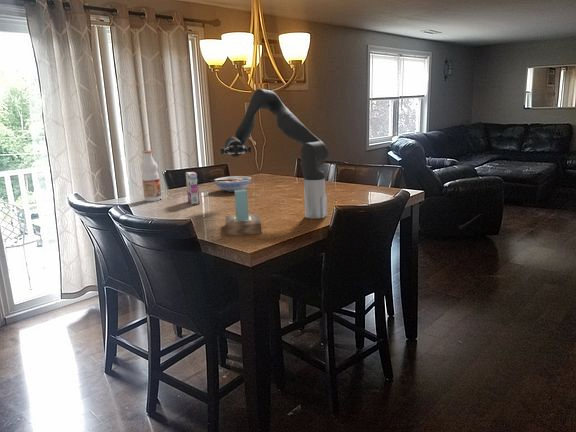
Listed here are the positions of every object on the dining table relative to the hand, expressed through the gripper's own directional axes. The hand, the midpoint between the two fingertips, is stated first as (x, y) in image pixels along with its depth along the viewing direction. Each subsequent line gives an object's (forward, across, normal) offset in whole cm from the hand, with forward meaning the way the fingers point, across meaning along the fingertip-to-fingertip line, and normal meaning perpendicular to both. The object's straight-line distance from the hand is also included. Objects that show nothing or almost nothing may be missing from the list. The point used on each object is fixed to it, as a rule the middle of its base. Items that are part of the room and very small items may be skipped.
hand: (236, 151), depth 201 cm
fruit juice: (-54, -48, +30) cm, 79 cm away
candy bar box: (-38, -24, +30) cm, 54 cm away
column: (+24, 0, +26) cm, 35 cm away
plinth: (+24, 0, +30) cm, 38 cm away
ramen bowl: (-66, -2, +30) cm, 72 cm away
